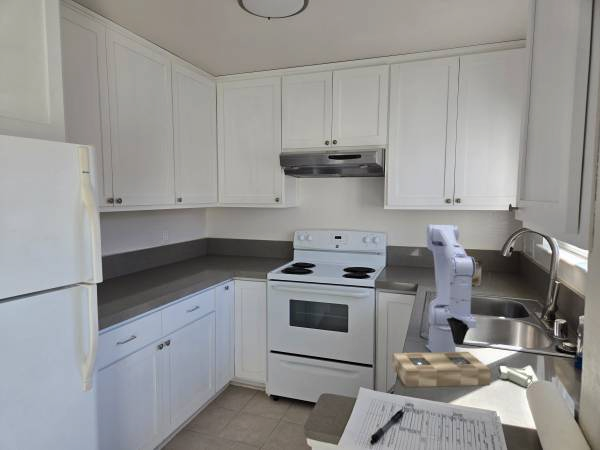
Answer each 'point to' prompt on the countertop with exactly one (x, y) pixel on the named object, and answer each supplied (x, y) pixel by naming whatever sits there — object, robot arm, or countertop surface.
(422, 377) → the socket block
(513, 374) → the pipe fitting
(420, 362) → the peg
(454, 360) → the peg
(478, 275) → the coffee box
